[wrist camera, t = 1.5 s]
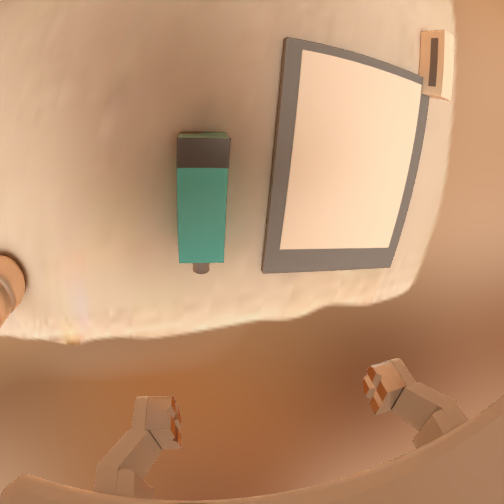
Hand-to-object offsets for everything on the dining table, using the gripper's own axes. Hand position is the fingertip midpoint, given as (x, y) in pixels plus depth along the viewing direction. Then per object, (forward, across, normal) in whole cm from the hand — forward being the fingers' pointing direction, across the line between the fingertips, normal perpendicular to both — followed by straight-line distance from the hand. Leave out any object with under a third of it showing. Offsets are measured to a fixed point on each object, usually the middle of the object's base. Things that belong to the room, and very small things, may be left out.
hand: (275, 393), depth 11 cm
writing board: (+20, -12, -5) cm, 24 cm away
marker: (+20, +3, -3) cm, 20 cm away
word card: (+20, -22, -18) cm, 34 cm away
